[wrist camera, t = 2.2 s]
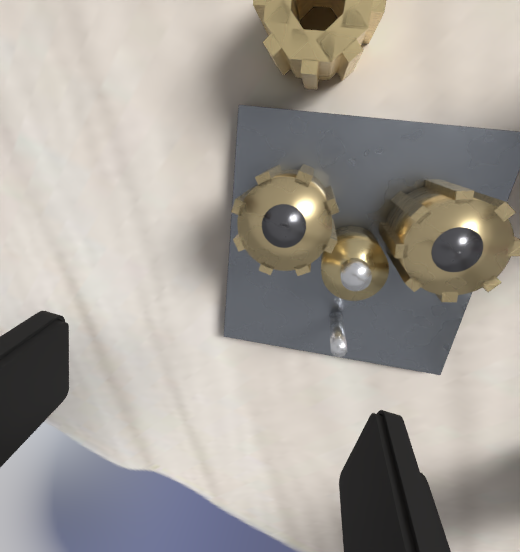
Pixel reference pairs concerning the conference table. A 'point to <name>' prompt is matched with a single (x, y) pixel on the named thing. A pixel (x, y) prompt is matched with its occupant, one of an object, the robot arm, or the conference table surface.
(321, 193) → the seated gear
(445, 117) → the conference table surface
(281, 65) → the gear
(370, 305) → the carrier
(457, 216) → the seated gear
